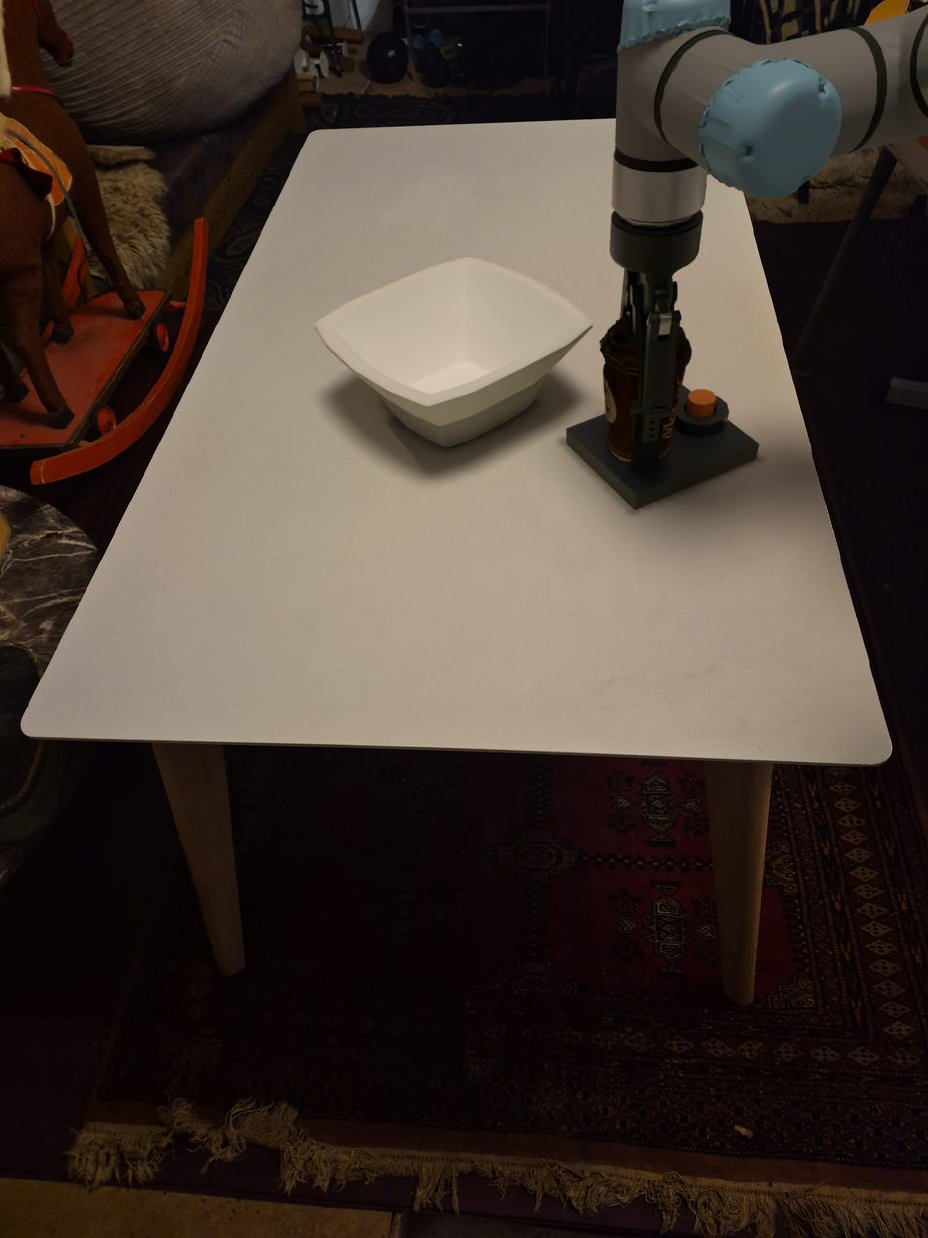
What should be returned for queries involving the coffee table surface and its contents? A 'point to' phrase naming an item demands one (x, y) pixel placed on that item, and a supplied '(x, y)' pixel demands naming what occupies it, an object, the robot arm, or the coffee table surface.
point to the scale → (688, 461)
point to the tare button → (701, 403)
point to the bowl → (455, 345)
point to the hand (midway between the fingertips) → (637, 436)
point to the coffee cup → (633, 385)
